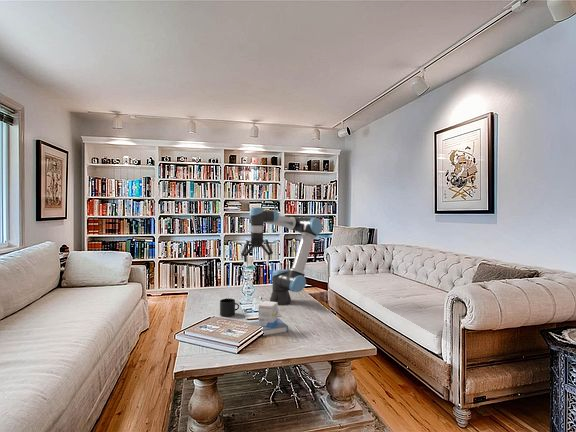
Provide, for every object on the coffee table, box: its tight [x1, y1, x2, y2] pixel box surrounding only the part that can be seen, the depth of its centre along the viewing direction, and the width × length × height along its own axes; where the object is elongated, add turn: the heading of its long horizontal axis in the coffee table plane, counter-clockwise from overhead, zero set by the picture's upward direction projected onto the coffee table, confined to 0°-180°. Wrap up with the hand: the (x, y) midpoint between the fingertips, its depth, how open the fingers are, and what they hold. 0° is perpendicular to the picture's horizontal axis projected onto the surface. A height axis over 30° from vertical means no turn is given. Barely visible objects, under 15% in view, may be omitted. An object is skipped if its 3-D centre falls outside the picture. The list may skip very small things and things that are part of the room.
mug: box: [219, 298, 240, 318], centre depth 203 cm, size 9×12×9 cm
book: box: [249, 318, 289, 337], centre depth 178 cm, size 18×13×4 cm
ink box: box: [257, 300, 279, 327], centre depth 178 cm, size 9×8×12 cm
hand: (257, 266), depth 200 cm, fingers open, 13 cm apart
